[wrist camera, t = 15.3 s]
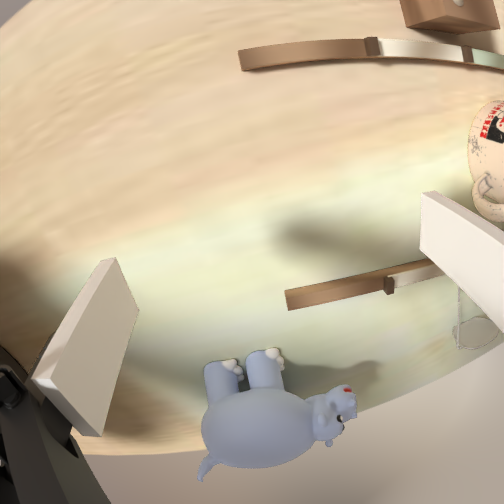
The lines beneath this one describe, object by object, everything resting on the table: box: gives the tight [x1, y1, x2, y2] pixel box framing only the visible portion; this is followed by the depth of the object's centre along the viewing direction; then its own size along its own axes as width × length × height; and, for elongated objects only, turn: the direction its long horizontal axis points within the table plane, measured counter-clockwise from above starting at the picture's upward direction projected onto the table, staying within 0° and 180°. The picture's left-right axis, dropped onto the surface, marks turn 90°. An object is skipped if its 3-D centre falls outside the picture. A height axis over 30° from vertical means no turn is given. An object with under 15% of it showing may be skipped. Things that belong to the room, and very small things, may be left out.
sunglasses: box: [453, 286, 499, 349], centre depth 24 cm, size 14×8×5 cm, turn 106°
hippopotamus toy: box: [197, 348, 357, 482], centre depth 25 cm, size 11×15×10 cm
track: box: [238, 37, 504, 311], centre depth 19 cm, size 26×18×2 cm
